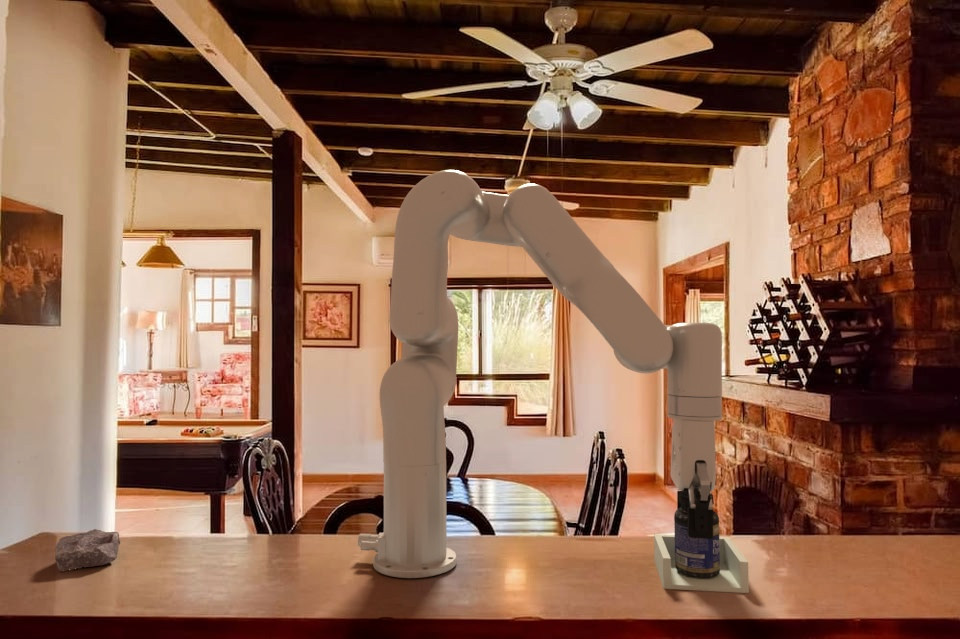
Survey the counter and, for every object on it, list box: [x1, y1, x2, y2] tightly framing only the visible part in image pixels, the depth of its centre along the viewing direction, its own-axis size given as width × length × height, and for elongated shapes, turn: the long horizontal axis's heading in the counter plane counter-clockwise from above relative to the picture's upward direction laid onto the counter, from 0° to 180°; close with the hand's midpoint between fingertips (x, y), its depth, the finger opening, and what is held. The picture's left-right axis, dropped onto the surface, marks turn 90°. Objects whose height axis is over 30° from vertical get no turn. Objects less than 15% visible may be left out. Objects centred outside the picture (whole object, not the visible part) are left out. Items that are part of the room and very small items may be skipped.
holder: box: [653, 533, 750, 594], centre depth 91 cm, size 11×11×4 cm
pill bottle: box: [673, 491, 720, 578], centre depth 91 cm, size 6×6×11 cm
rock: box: [54, 528, 121, 572], centre depth 100 cm, size 8×11×5 cm
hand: (694, 527), depth 92 cm, fingers open, 9 cm apart
